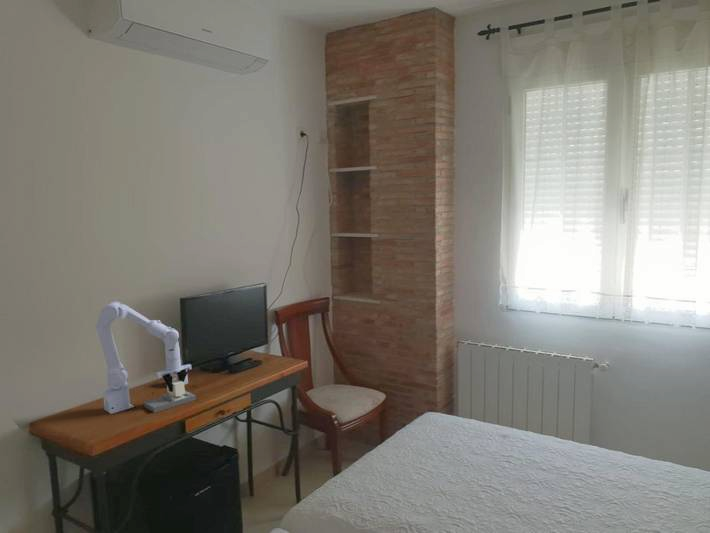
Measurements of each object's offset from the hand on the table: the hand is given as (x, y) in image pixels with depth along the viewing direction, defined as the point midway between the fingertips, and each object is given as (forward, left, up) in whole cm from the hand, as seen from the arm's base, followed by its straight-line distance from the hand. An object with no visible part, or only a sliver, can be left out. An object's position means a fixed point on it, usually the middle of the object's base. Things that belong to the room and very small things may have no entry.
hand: (176, 389), depth 227 cm
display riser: (-3, 0, -5) cm, 6 cm away
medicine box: (+11, +21, -5) cm, 25 cm away
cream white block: (0, 0, -2) cm, 2 cm away
